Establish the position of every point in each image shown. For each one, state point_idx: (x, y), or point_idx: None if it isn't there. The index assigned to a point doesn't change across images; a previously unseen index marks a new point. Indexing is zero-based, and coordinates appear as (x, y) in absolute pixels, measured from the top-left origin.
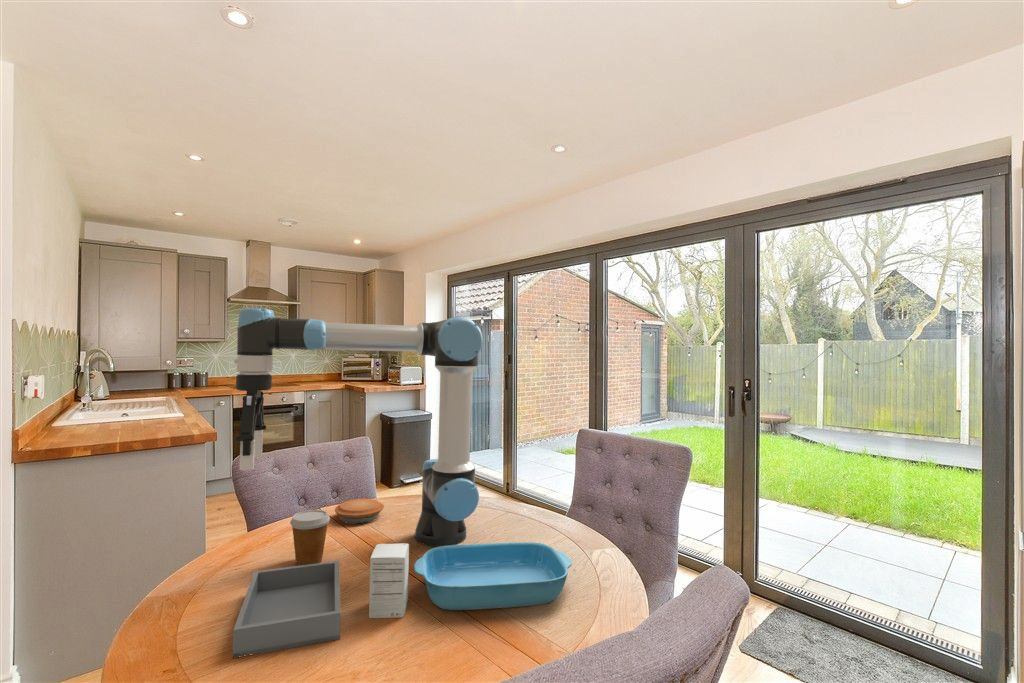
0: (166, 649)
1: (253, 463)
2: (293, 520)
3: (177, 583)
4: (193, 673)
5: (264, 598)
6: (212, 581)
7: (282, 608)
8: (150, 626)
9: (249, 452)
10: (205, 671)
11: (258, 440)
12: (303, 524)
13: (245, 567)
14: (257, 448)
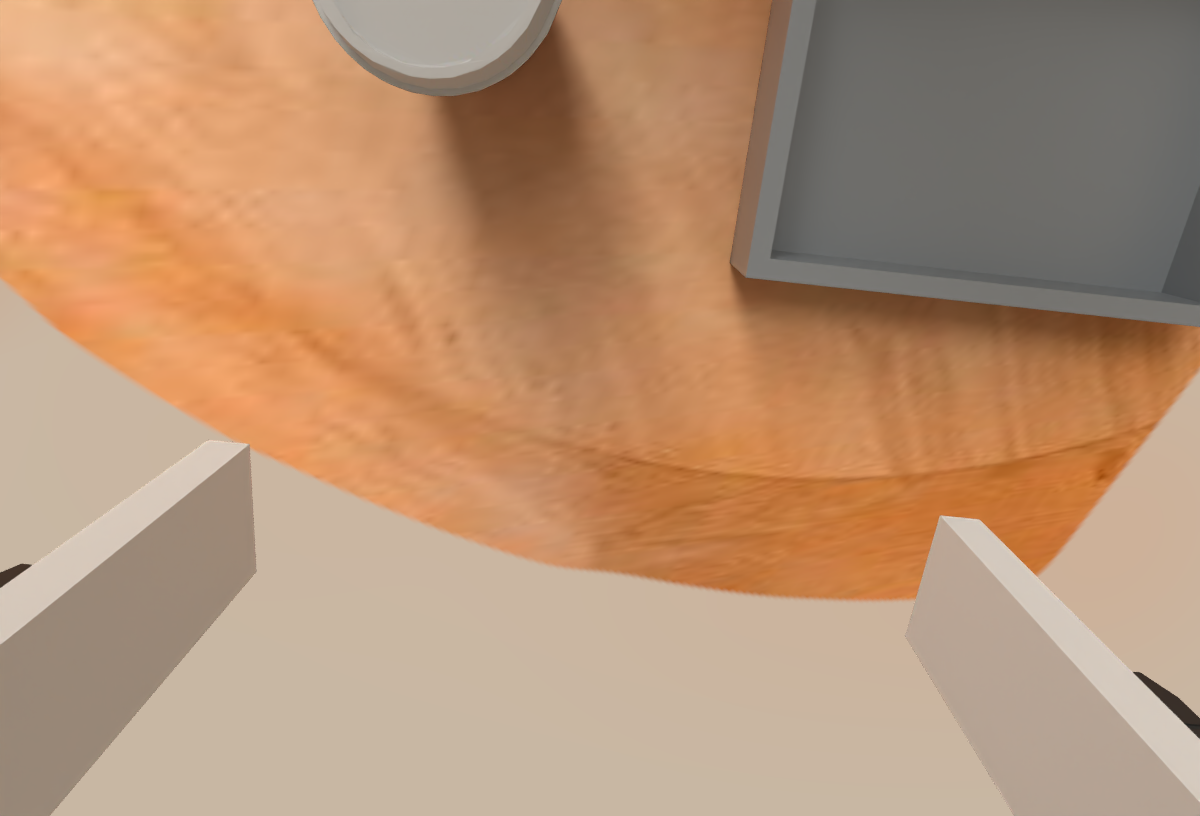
0: (981, 489)
1: (1000, 553)
2: (476, 74)
3: (510, 523)
4: (1166, 406)
5: (829, 221)
6: (542, 414)
7: (957, 151)
8: (808, 550)
9: (1188, 711)
10: (1179, 377)
11: (109, 614)
12: (546, 7)
13: (447, 302)
14: (190, 549)
